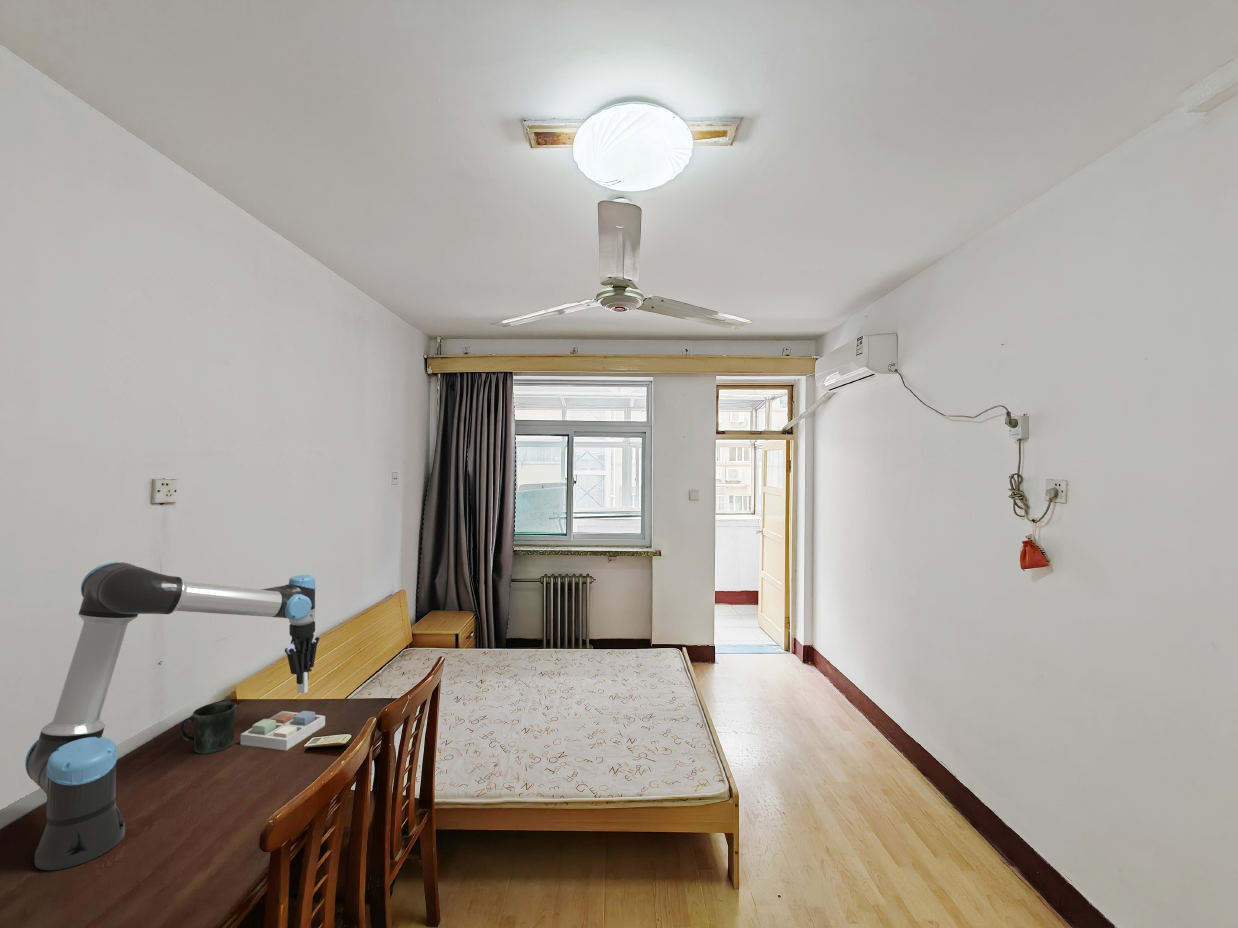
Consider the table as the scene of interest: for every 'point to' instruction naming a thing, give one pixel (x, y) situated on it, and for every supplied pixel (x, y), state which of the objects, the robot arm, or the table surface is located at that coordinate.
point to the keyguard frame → (279, 742)
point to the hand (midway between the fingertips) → (302, 691)
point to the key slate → (303, 718)
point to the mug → (212, 727)
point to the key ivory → (285, 731)
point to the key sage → (264, 726)
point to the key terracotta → (283, 718)
